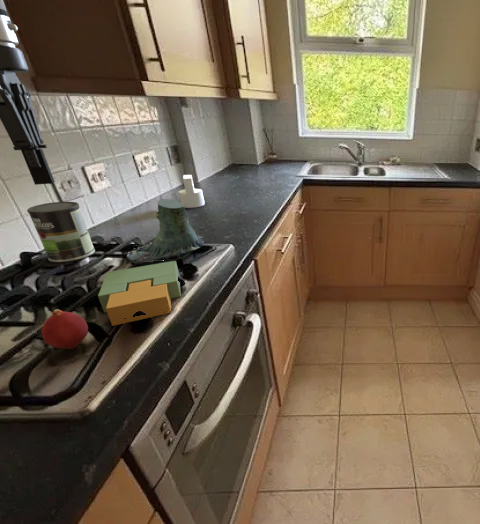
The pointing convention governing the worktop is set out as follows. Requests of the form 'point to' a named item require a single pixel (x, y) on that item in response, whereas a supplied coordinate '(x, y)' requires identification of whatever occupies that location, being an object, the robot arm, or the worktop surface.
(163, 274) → the green notched block
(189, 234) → the tree stump
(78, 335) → the onion
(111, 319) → the ochre pad
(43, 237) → the coffee can
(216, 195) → the worktop surface
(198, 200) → the base with upright slab
